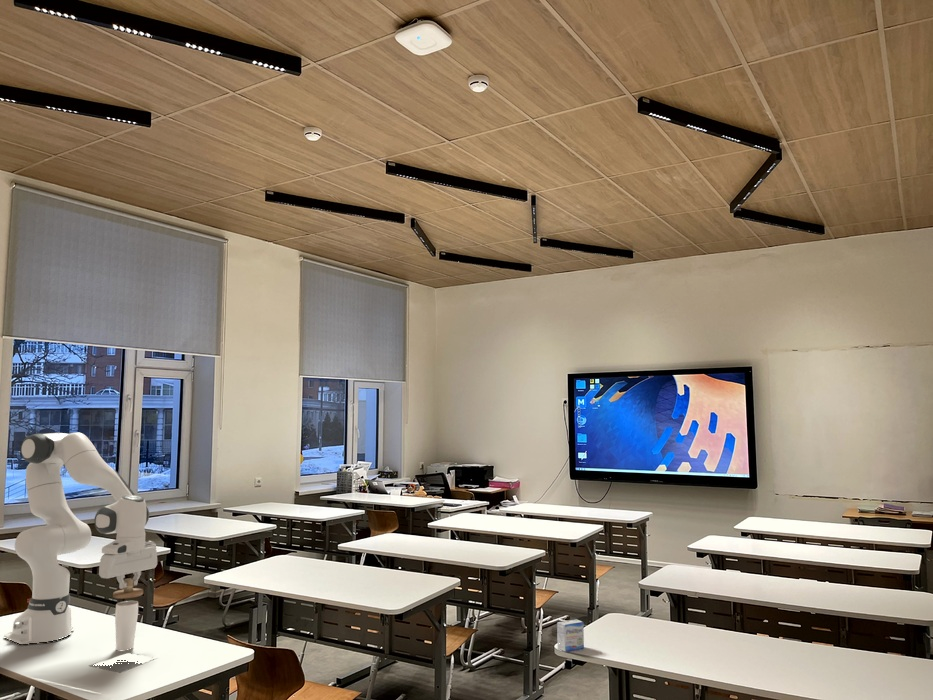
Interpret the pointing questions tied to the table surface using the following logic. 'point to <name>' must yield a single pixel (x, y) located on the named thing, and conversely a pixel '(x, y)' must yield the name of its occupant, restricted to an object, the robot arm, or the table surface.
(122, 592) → the lid
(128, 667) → the mat
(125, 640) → the drinking glass
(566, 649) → the medicine box
